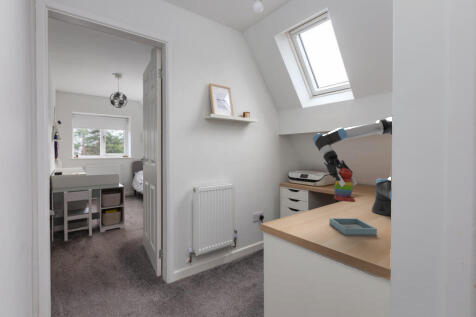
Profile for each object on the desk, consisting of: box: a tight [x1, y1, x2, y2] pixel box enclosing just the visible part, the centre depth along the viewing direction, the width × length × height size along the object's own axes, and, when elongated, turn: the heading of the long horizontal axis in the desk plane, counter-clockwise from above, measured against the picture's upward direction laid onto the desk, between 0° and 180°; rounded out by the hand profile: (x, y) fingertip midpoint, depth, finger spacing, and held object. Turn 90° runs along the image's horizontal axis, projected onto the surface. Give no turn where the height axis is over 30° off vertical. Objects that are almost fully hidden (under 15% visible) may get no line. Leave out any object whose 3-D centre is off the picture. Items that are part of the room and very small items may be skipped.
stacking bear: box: [333, 168, 356, 203], centre depth 130 cm, size 11×10×18 cm
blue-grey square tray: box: [328, 217, 378, 237], centre depth 121 cm, size 16×17×4 cm
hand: (349, 185), depth 127 cm, fingers open, 8 cm apart
